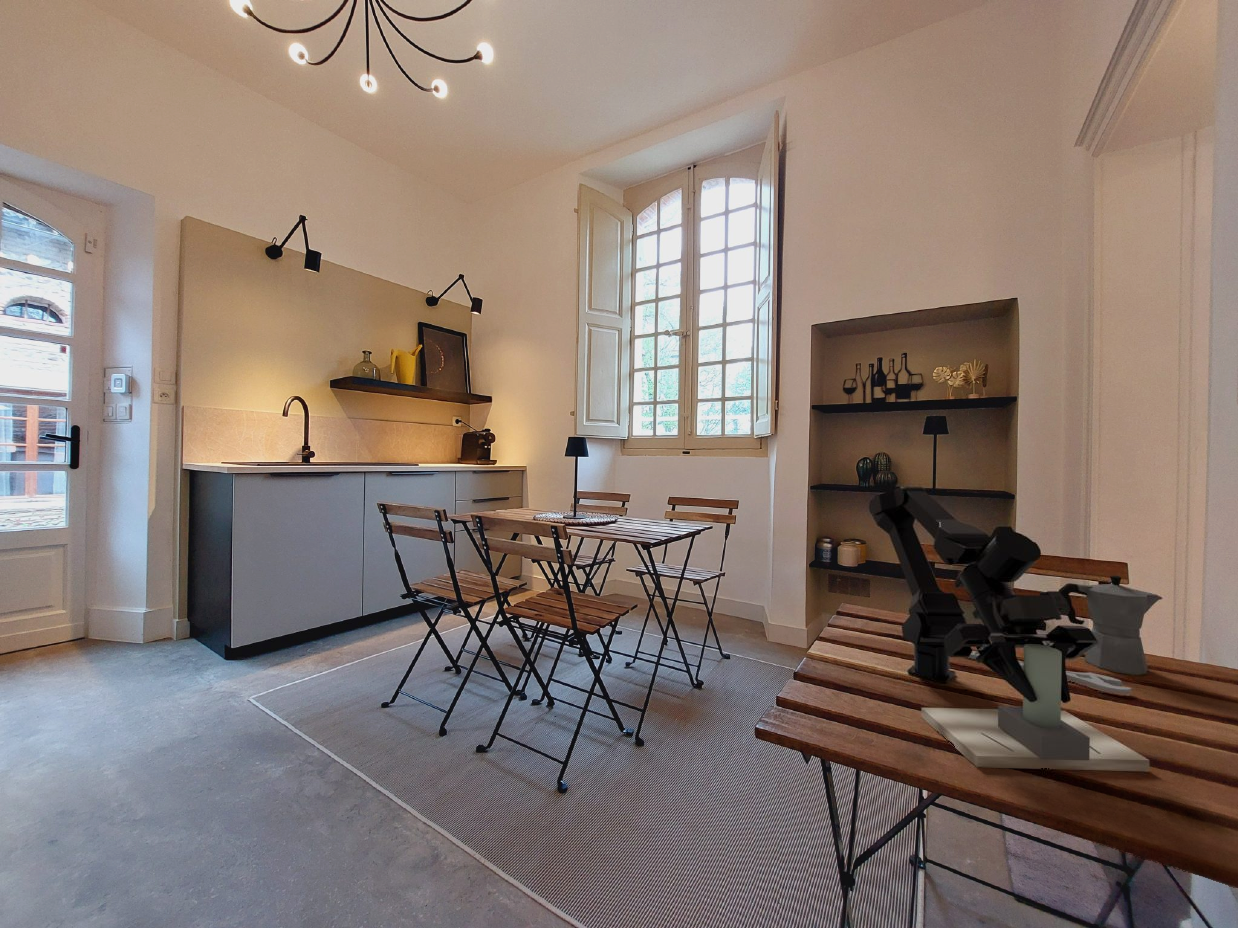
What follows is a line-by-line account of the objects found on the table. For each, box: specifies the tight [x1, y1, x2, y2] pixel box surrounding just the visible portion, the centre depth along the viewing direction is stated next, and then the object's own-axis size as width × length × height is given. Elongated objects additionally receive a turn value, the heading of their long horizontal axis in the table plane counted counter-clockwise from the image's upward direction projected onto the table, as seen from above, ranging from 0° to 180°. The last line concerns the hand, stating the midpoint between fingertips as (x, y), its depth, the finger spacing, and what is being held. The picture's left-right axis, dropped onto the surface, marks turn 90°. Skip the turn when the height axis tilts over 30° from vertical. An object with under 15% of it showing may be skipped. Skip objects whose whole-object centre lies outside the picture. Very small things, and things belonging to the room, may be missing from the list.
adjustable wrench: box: [967, 650, 1132, 695], centre depth 97 cm, size 25×6×2 cm, turn 41°
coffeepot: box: [1058, 575, 1163, 676], centre depth 100 cm, size 15×9×18 cm, turn 62°
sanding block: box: [997, 644, 1090, 760], centre depth 69 cm, size 6×8×13 cm
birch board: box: [920, 707, 1150, 773], centre depth 72 cm, size 13×22×2 cm, turn 88°
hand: (1050, 701), depth 68 cm, fingers closed on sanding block, 4 cm apart
